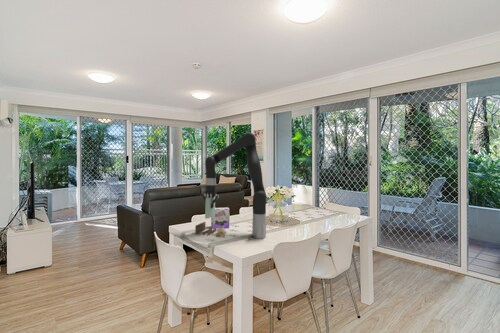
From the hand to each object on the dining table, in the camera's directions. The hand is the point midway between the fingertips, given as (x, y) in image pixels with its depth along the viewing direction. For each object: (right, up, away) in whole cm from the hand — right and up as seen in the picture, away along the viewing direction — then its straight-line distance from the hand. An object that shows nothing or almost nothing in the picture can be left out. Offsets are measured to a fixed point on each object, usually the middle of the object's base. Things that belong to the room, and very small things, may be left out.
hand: (210, 208), depth 203 cm
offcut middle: (+8, -19, -2) cm, 21 cm away
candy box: (+5, -19, +17) cm, 26 cm away
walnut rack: (-4, -19, +2) cm, 20 cm away
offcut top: (+8, -17, -2) cm, 19 cm away
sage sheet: (0, -6, 0) cm, 6 cm away
